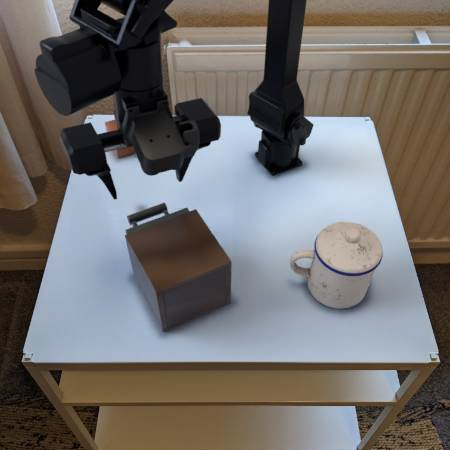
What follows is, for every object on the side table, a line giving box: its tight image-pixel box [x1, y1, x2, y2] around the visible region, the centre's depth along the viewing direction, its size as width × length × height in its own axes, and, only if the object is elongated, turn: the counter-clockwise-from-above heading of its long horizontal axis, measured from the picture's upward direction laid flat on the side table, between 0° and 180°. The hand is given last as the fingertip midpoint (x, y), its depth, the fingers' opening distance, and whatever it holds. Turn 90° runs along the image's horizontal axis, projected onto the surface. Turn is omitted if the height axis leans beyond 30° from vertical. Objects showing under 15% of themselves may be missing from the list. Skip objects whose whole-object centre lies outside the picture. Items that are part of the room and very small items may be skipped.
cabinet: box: [124, 208, 233, 333], centre depth 70 cm, size 11×11×10 cm
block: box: [104, 118, 136, 159], centre depth 90 cm, size 5×5×5 cm
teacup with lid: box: [289, 221, 384, 310], centre depth 70 cm, size 12×9×12 cm
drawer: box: [125, 202, 190, 235], centre depth 72 cm, size 14×9×8 cm, turn 28°
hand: (147, 188), depth 67 cm, fingers open, 9 cm apart
